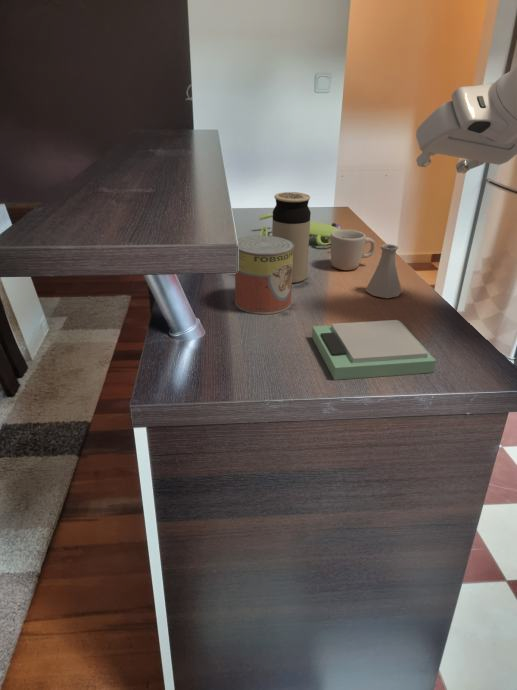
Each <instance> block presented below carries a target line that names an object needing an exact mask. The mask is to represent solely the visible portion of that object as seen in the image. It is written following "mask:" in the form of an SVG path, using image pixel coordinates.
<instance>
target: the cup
mask: <svg viewBox="0 0 517 690" xmlns="http://www.w3.org/2000/svg"><path fill="white" fill-rule="evenodd" d="M367 243H370V249H369V251H368V252H366V253H365V252H364V249H365V246H366V244H367ZM375 249H376V242H375V240H374V239H372V237H367V236H366V234H365V233H364V232H362V231H359V230H355V229H341V230H336V231H333V232H332V233H331V244H330V262H331V265H332V267H333V268H334V269H337V270H341V271H353V270H356V269H357V268H359V266H360V264H361V260H363V259H365V258H370V257H371V256H373V254H374V253H375Z"/></svg>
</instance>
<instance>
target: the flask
mask: <svg viewBox="0 0 517 690" xmlns="http://www.w3.org/2000/svg"><path fill="white" fill-rule="evenodd" d="M380 249H381V255H380V259H379V261H378V265H377V267H376V269H375V270H374V273H373V274H372V277H371V279H370V280H369V282H368V284H367V286H366V288H365V290H364V291H365V292H367V293H368V294H370V295H372V296H373V297H378V298H383V299H391V298H397V297H399V296H400V295H401V294H402V286H401V283H400V279H399V275H398V269H397V264H396V253H397V252H396V251H397V250H398V249H399V246H398V245H395V244H390V243H386V244H382V245H381V246H380Z"/></svg>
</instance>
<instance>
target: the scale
mask: <svg viewBox="0 0 517 690" xmlns="http://www.w3.org/2000/svg"><path fill="white" fill-rule="evenodd" d="M311 339H312V340H313V343H314V344H315V347H316V348H317V350H318V352H319V355H320V356H321V358H322V359H323V362H324V364H325V365H326V367H327V369H328V371H329V373H330V375H331V376H332V378H333V380H334V381H339V380H341V381H342V380H353V379H367V378H379V377H380V378H381V377H392V376H393V377H394V376H406V375H408V376H409V375H419V374H433V373H434V372H435V369H436V364H437V363H436V362H437V360H436V358H434V357H433V356H432V354H431V353H430V352H429V351H428V350H427V349H426V348H425V347H424V345H422V343H420V341H419V340H418V338H416V337H415V336H414V334H413V333H412V332H411V331H410V330H409V329H408V327H406V325H404V324H403V322H402V321H400V320H398V319H391V320H390V319H389V320H374V321H373V320H371V321H357V322H340V323H330V325H313V326H312V329H311Z"/></svg>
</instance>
